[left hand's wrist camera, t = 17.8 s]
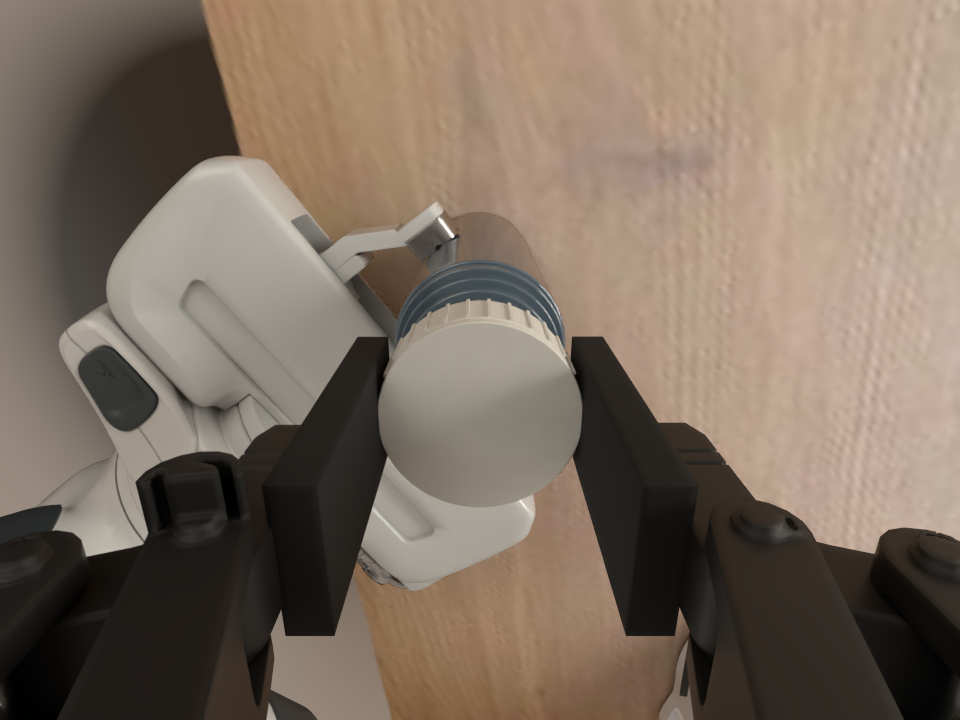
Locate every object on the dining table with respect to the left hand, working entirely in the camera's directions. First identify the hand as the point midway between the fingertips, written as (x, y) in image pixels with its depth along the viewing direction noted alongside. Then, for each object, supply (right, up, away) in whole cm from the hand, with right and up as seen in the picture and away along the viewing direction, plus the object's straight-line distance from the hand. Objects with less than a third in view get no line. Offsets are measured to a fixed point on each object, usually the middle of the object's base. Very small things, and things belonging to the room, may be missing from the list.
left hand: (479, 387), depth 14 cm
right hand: (+1, +4, +9) cm, 9 cm away
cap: (0, -1, -1) cm, 2 cm away
